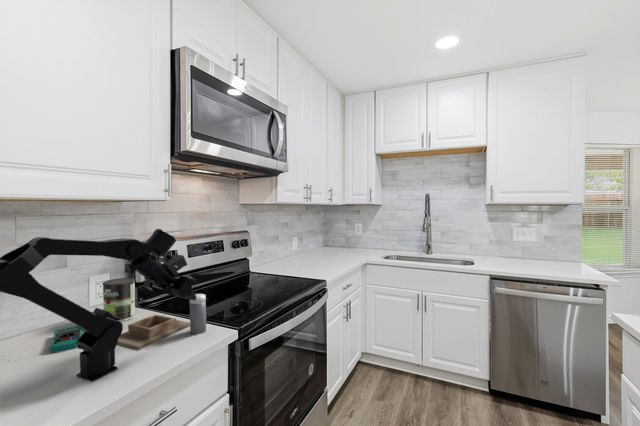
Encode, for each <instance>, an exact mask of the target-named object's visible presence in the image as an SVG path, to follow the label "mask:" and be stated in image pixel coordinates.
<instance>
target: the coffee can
mask: <svg viewBox="0 0 640 426" xmlns="http://www.w3.org/2000/svg"><path fill="white" fill-rule="evenodd" d="M135 283H136V278H132V277H120V278H119V277H117V278H113V279H108V280H105V281H103V282H102V294H103V296H102V298H103V302H102V303H103V310H105V311H108V312H109V313H110V314H112V315H113V316H115V317H118V318H120V320H118V321H120V322H121V323H122V322H126V321H129V320H131V319H133V318H135V317H136V295H135V294H136V292H135V291H136V290H135V289H136V288H135V286H136V285H135ZM134 316H135V317H134Z"/></svg>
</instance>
